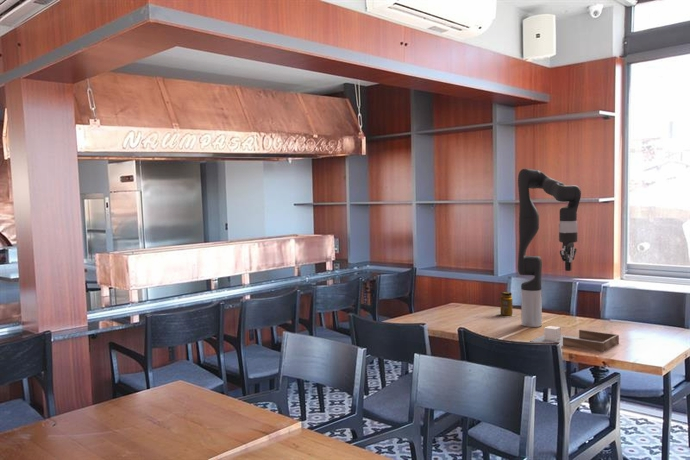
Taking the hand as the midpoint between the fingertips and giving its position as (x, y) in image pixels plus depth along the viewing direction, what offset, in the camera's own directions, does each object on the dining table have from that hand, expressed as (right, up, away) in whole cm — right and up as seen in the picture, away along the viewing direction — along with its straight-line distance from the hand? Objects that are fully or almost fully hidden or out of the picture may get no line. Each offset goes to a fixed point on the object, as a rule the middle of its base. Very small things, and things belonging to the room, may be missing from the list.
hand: (568, 270), depth 257 cm
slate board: (-3, -30, -14) cm, 33 cm away
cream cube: (-10, -28, -9) cm, 31 cm away
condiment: (-14, -27, +48) cm, 57 cm away
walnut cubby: (+2, -29, -19) cm, 34 cm away
